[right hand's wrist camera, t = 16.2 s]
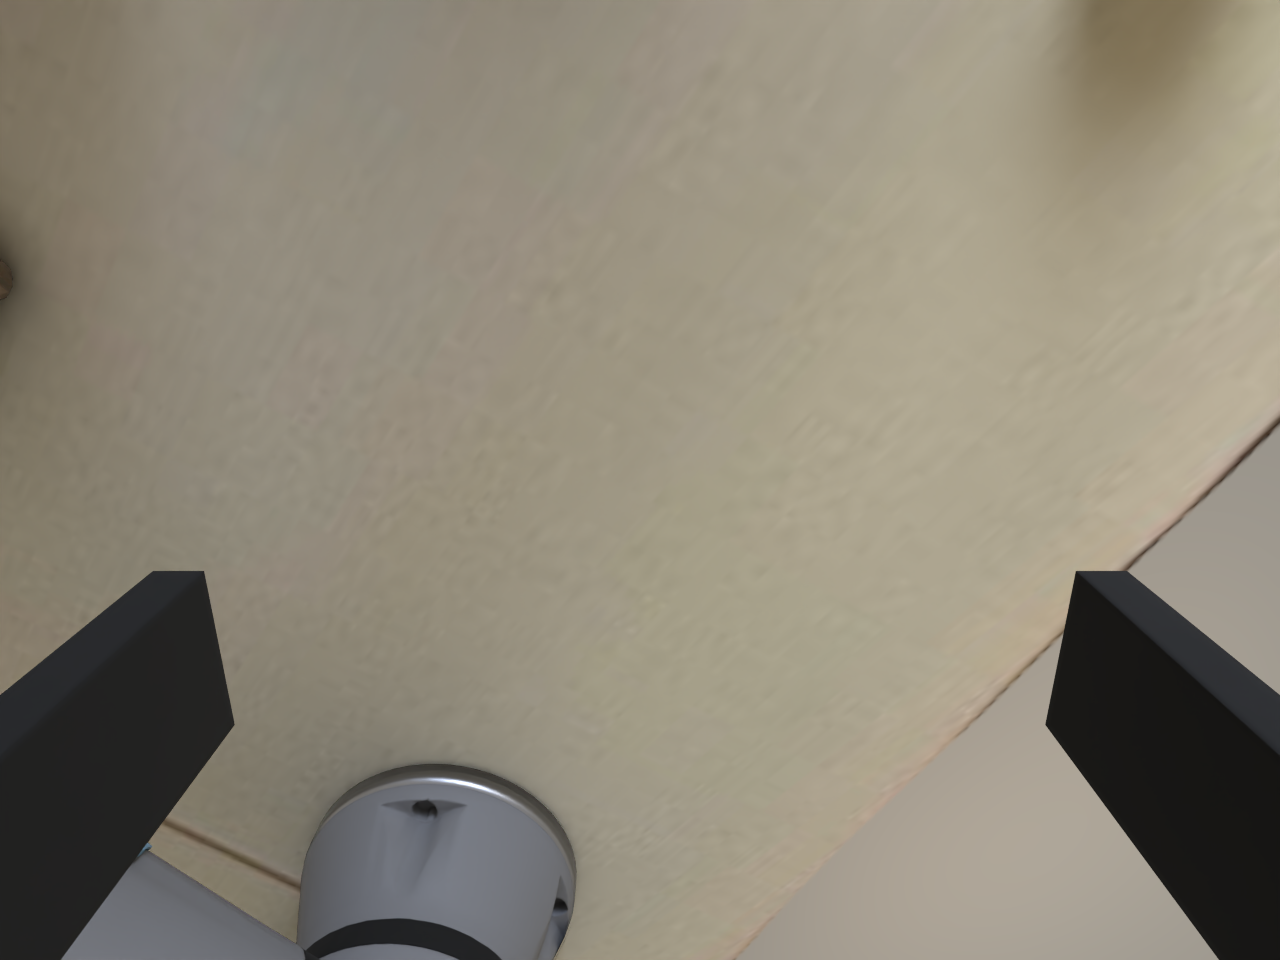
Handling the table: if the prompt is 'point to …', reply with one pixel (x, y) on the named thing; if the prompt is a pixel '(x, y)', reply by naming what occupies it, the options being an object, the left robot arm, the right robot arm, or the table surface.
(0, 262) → the stone
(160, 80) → the table surface
